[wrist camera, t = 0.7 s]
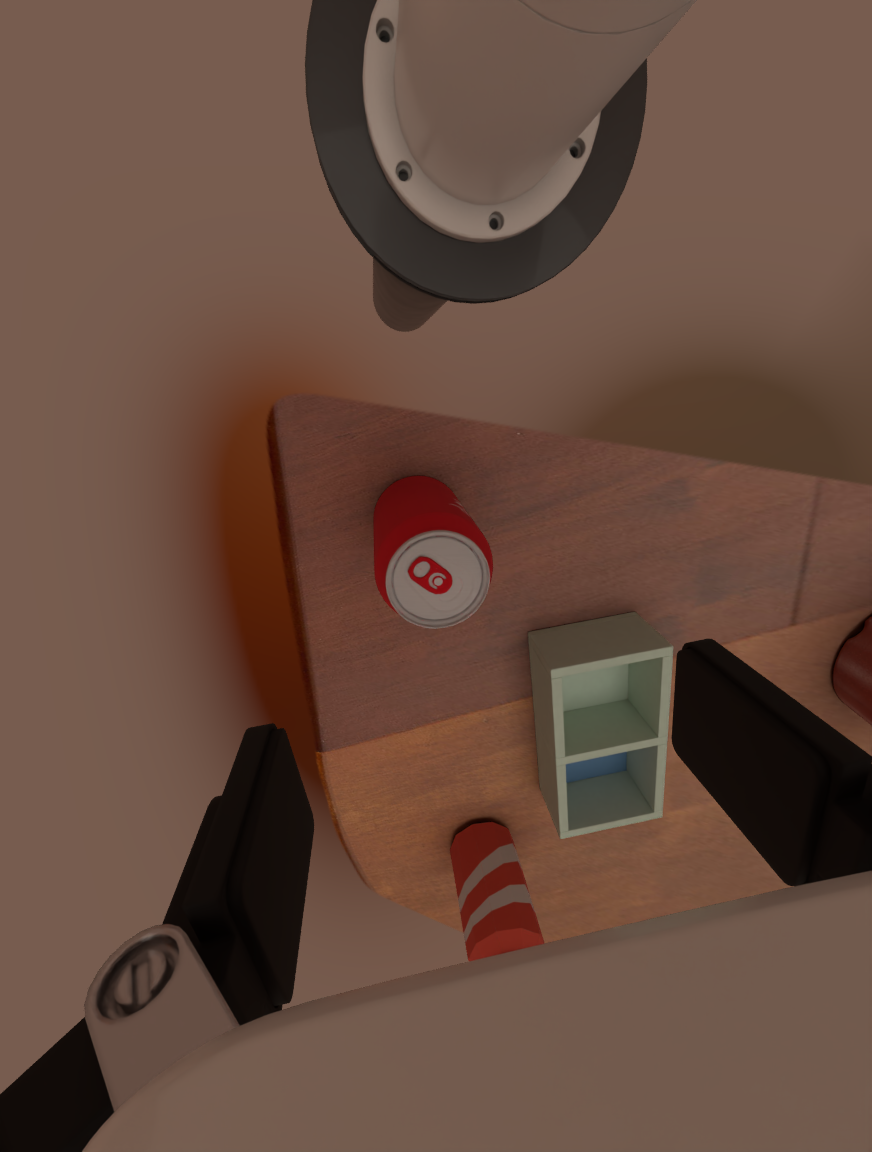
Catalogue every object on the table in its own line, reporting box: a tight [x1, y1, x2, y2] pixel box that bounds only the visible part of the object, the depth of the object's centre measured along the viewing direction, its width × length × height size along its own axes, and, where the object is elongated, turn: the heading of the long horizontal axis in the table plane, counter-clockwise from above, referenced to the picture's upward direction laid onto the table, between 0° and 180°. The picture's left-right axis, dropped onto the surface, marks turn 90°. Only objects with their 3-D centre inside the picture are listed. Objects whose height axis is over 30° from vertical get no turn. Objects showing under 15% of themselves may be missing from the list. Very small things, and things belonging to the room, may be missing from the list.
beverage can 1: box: [374, 476, 493, 629], centre depth 29 cm, size 6×6×12 cm
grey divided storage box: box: [528, 612, 673, 839], centre depth 41 cm, size 18×9×6 cm, turn 8°
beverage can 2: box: [450, 822, 544, 961], centre depth 43 cm, size 6×6×12 cm
